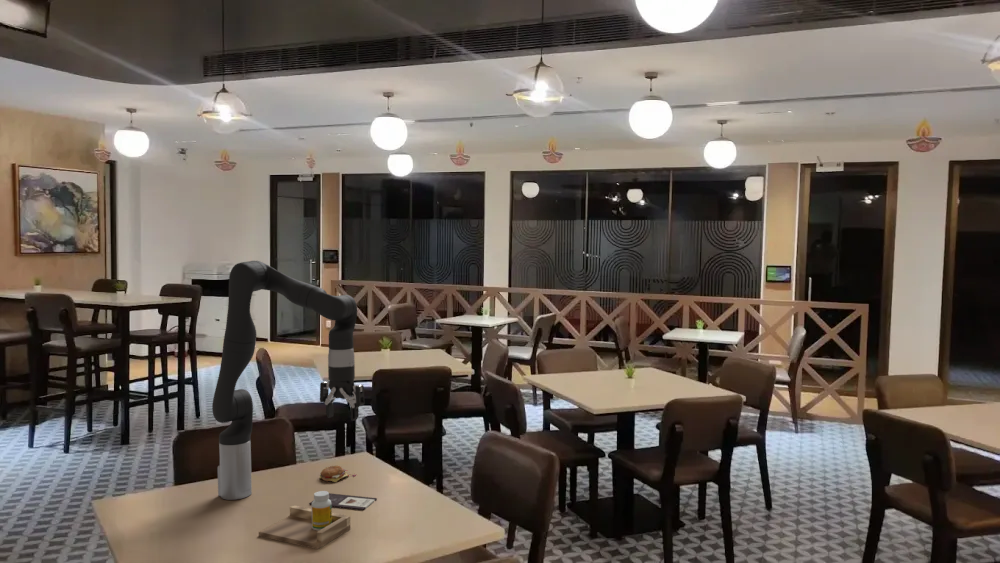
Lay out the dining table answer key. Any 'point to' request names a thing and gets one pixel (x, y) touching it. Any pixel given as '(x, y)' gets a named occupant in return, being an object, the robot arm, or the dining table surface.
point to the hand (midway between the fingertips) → (342, 418)
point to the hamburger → (333, 473)
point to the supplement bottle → (321, 510)
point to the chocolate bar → (350, 501)
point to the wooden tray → (306, 528)
